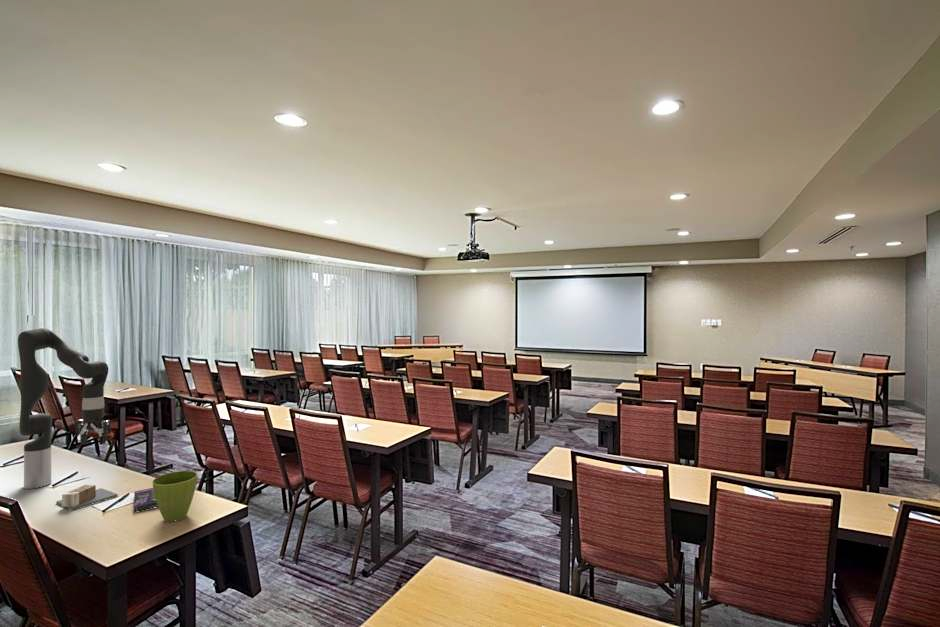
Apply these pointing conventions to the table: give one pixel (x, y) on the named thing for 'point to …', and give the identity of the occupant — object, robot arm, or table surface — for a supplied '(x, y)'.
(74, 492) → the block
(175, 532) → the table surface
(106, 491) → the mat
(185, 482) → the flower pot
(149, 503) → the box
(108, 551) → the table surface
